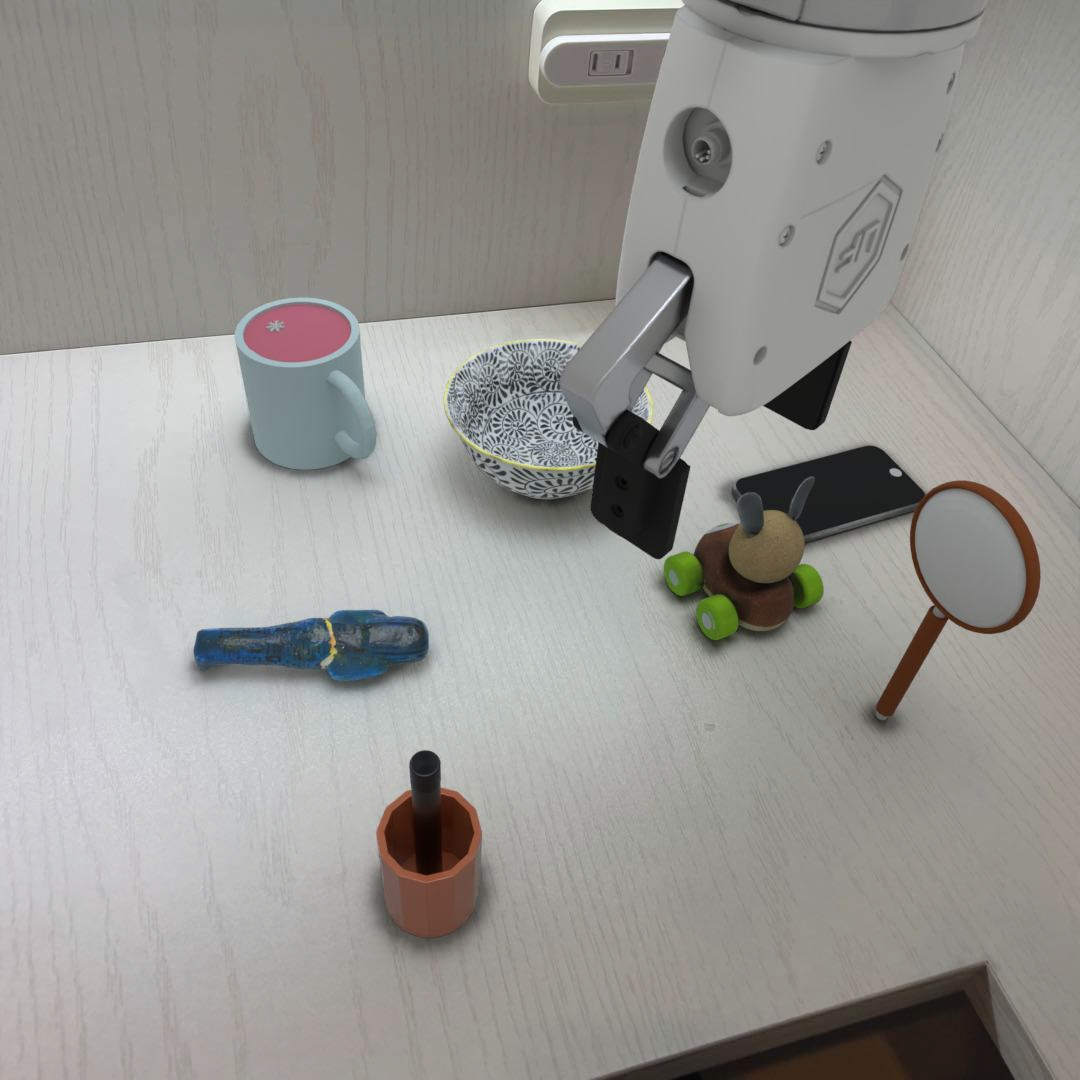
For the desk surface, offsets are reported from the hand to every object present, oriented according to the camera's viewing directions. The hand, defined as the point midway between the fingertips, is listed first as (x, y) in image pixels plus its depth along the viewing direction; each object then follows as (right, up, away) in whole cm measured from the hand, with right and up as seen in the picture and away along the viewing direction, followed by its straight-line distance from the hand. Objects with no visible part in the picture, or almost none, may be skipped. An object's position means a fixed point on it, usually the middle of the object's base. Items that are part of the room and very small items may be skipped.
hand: (712, 468), depth 36 cm
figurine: (-21, -11, +29) cm, 38 cm away
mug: (-24, +5, +44) cm, 50 cm away
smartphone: (+17, +1, +43) cm, 47 cm away
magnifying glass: (+16, -15, +29) cm, 36 cm away
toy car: (+8, -7, +36) cm, 37 cm away
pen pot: (-12, -22, +19) cm, 32 cm away
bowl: (-6, +3, +44) cm, 44 cm away
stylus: (-13, -22, +18) cm, 31 cm away
